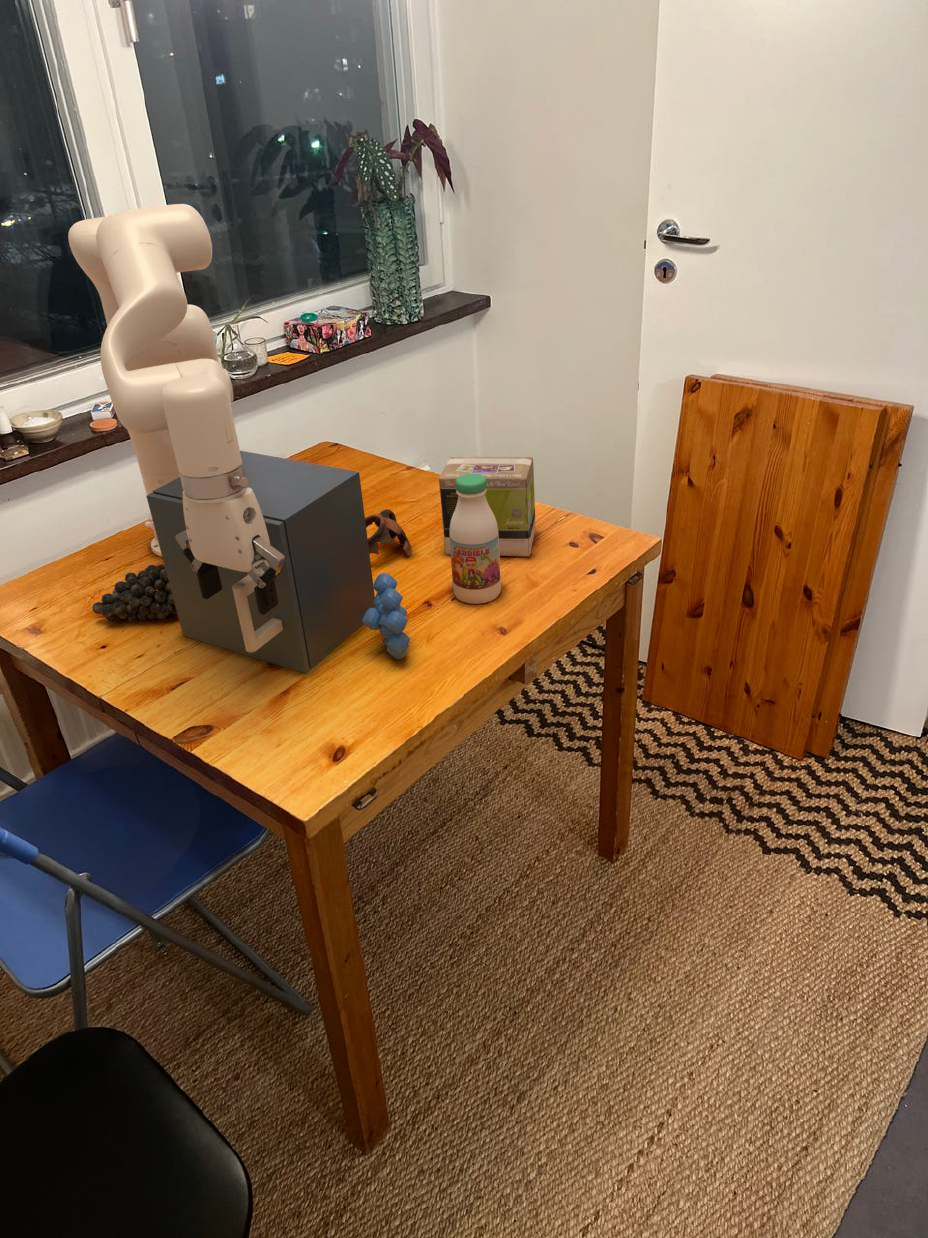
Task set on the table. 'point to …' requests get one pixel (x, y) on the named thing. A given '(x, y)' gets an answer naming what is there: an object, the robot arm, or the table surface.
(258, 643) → the cupboard door
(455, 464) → the tea box
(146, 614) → the fruit
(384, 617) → the grapes
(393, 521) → the brown curved legged piece
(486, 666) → the table surface
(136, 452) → the robot arm
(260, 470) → the cupboard
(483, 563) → the milk bottle
